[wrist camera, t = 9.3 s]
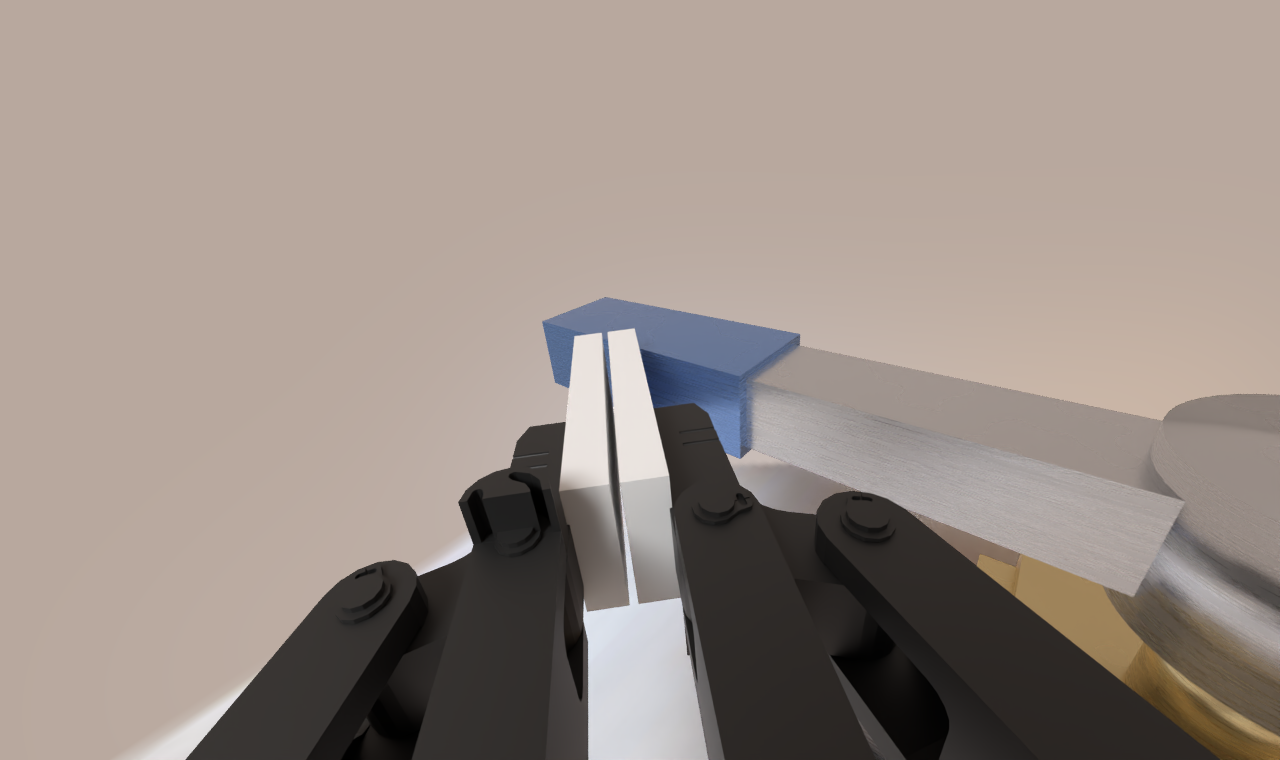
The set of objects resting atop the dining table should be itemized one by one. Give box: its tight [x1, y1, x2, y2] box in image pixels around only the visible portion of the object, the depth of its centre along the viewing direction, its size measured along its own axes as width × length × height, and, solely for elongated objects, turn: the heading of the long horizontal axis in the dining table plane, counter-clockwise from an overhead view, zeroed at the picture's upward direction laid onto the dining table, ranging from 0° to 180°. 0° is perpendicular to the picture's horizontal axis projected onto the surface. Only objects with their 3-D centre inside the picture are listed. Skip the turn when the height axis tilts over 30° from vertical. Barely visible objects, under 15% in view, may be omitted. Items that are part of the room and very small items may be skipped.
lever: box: [543, 297, 1280, 737], centre depth 11 cm, size 4×19×3 cm, turn 46°
